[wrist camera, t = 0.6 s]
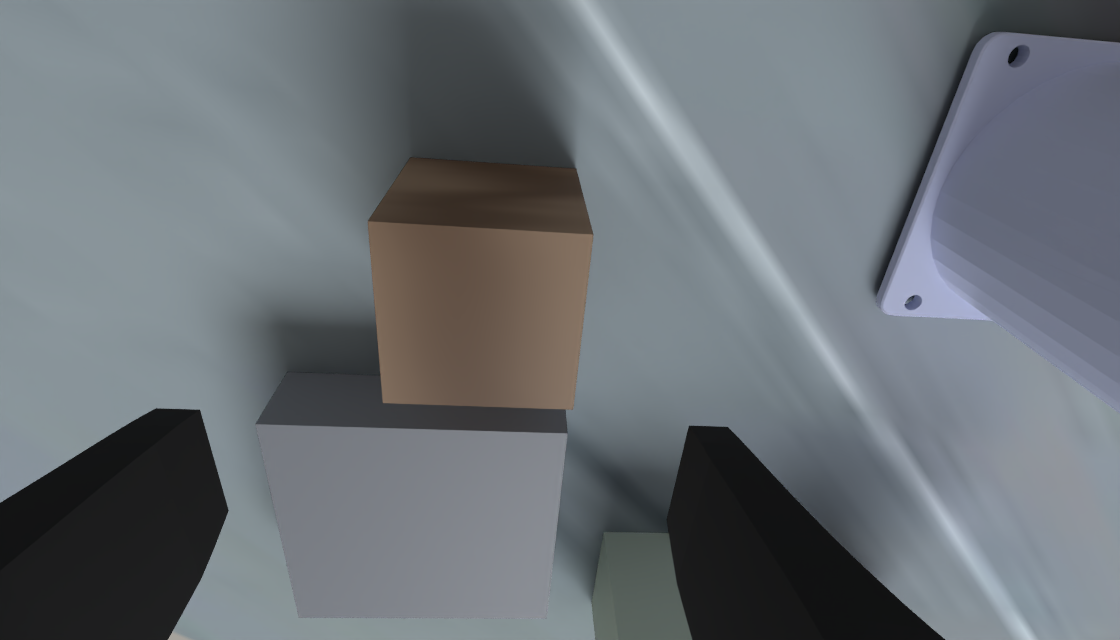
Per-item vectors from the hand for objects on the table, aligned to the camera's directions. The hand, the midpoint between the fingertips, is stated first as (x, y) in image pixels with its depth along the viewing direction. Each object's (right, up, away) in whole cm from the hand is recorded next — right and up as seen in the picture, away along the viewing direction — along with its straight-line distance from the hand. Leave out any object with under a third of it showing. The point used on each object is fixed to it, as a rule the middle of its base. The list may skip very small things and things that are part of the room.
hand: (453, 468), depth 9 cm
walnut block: (0, +5, +8) cm, 10 cm away
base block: (-3, -3, +13) cm, 14 cm away
